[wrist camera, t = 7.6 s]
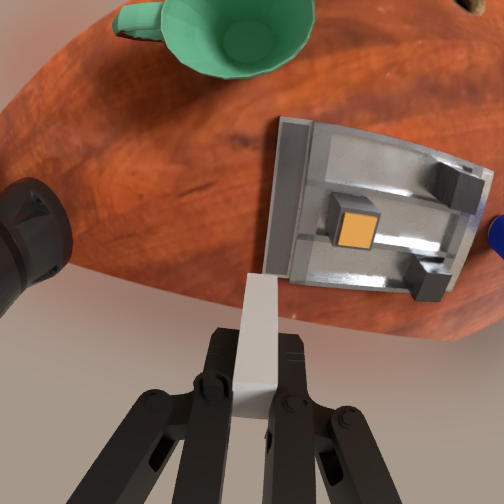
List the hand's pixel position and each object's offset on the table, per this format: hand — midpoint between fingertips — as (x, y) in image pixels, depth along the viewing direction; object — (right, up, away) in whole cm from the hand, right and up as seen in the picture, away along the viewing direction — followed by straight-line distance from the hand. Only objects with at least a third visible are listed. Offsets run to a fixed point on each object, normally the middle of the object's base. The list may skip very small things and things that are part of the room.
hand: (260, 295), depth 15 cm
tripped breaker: (+9, +6, +12) cm, 17 cm away
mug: (-3, +22, +6) cm, 23 cm away
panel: (+14, +6, +14) cm, 21 cm away
